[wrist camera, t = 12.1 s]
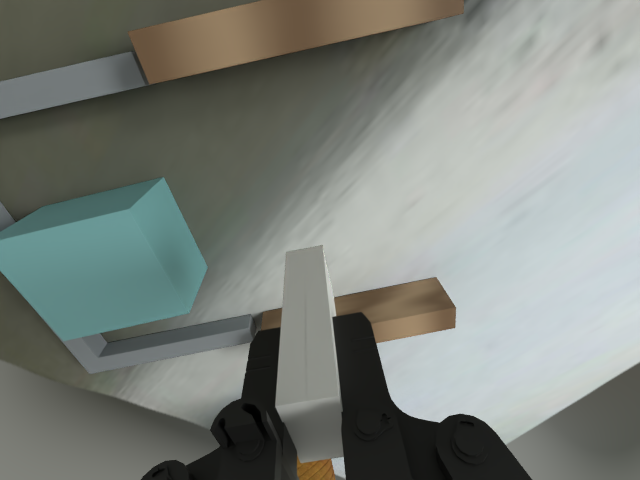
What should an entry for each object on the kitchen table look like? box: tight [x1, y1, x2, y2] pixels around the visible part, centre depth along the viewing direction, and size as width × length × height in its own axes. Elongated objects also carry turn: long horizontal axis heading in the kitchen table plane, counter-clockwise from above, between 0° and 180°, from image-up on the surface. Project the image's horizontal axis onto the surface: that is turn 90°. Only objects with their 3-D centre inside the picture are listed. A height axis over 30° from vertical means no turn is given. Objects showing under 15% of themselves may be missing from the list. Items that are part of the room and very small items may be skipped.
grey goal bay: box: [0, 51, 256, 374], centre depth 21 cm, size 14×20×2 cm
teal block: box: [0, 177, 208, 341], centre depth 20 cm, size 8×7×5 cm
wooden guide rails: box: [128, 0, 464, 343], centre depth 20 cm, size 14×21×4 cm, turn 11°
